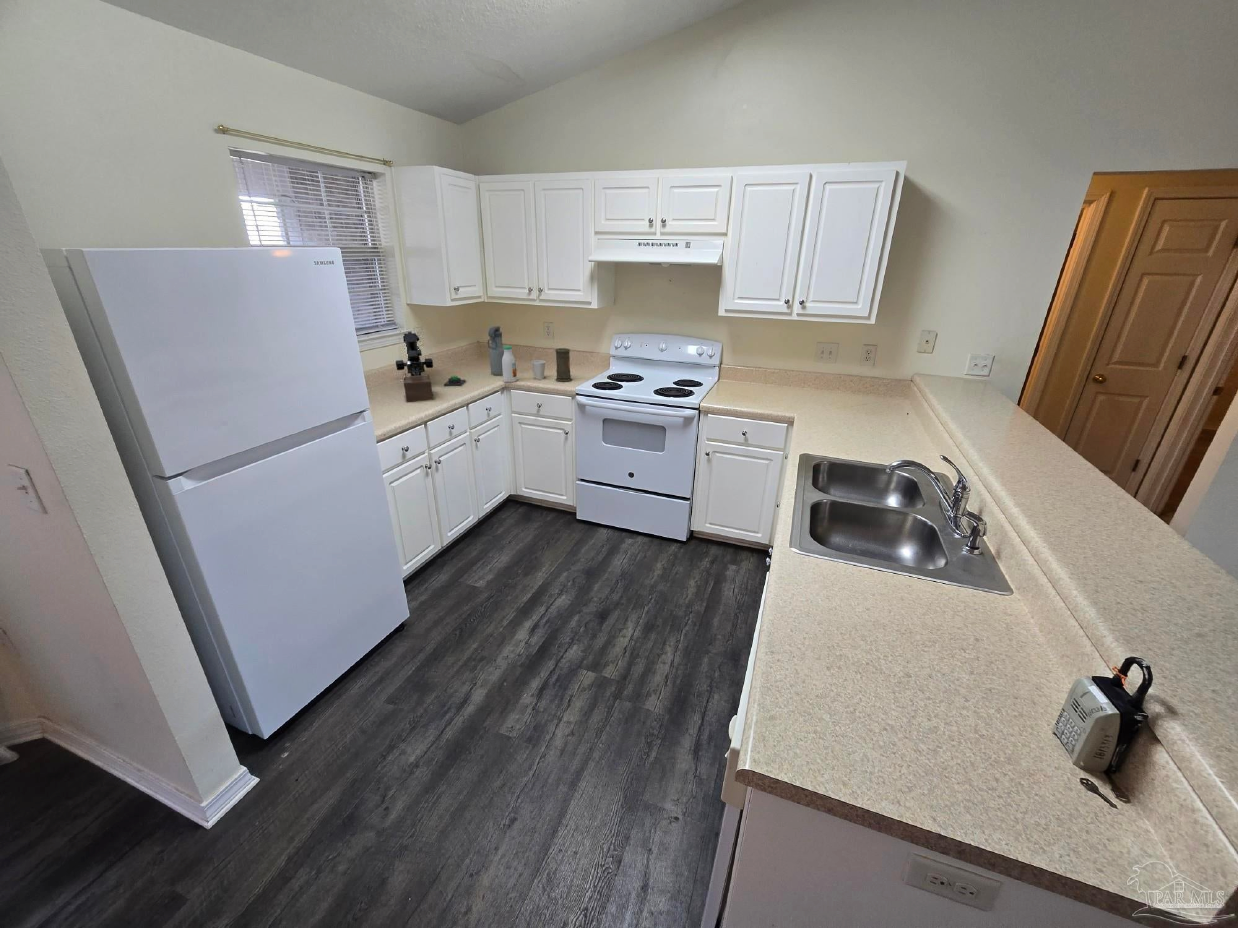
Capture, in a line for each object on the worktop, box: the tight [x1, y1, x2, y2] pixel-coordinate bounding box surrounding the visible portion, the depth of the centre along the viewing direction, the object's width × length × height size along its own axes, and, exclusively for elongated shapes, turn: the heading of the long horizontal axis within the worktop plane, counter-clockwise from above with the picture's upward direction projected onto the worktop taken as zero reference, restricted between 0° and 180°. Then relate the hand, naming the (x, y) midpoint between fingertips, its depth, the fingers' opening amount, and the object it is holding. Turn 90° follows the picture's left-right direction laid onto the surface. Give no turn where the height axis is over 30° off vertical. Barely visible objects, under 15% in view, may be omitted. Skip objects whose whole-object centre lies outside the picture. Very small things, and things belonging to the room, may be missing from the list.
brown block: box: [403, 374, 434, 403], centre depth 261 cm, size 14×13×10 cm
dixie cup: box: [530, 359, 547, 380], centre depth 301 cm, size 8×8×10 cm
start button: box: [450, 375, 459, 379], centre depth 288 cm, size 4×4×2 cm
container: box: [554, 347, 572, 383], centre depth 295 cm, size 9×9×18 cm
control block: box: [443, 376, 466, 387], centre depth 289 cm, size 11×9×3 cm
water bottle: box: [487, 325, 504, 376], centre depth 307 cm, size 10×10×28 cm
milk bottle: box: [502, 345, 518, 383], centre depth 293 cm, size 8×8×20 cm
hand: (416, 377), depth 275 cm, fingers closed
